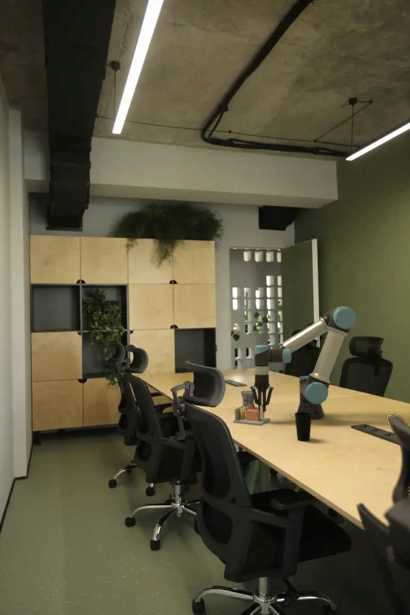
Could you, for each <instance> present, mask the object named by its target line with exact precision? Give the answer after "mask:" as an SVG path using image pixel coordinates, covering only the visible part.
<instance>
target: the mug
mask: <svg viewBox="0 0 410 615" xmlns="http://www.w3.org/2000/svg"><path fill="white" fill-rule="evenodd" d="M240 394H241V396H242V405H241V406H245V411H246V410H248V409H254V410H256V406H255V405H256V404H255V402H254V397H253V393H252V390H242V391H240Z"/></svg>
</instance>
